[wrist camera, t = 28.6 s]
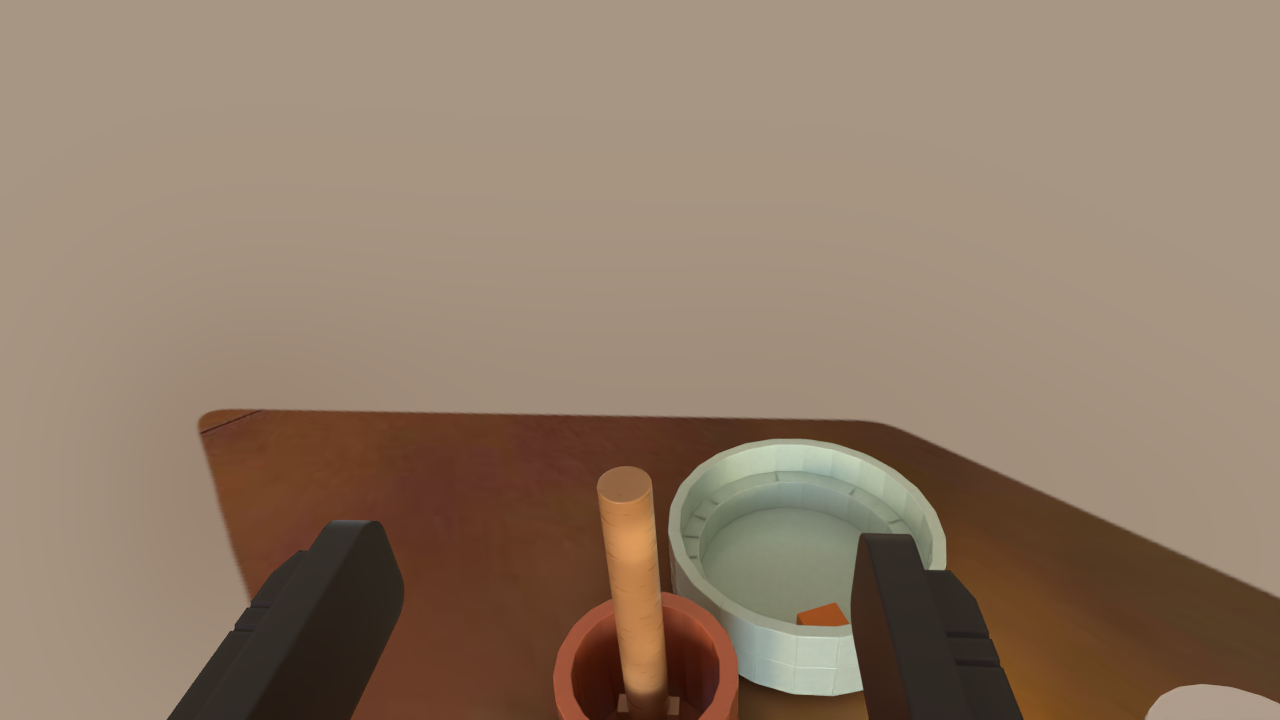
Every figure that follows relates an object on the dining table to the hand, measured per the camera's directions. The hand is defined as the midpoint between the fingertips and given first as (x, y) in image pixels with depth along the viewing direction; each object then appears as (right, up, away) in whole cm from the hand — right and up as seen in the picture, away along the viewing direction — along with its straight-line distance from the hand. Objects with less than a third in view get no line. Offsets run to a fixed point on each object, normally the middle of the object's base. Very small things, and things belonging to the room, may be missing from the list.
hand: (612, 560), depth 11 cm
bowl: (+12, -12, +36) cm, 40 cm away
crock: (+1, -19, +26) cm, 32 cm away
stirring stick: (+1, -19, +26) cm, 32 cm away
